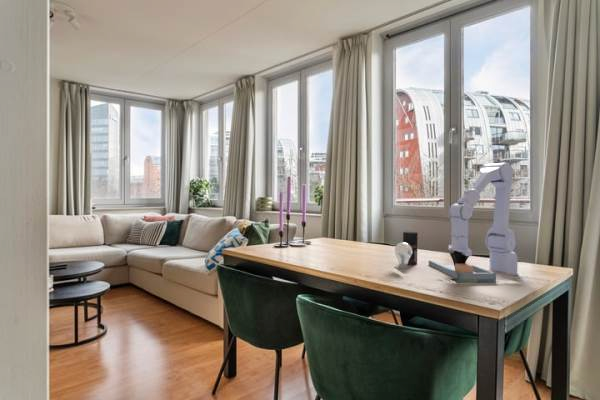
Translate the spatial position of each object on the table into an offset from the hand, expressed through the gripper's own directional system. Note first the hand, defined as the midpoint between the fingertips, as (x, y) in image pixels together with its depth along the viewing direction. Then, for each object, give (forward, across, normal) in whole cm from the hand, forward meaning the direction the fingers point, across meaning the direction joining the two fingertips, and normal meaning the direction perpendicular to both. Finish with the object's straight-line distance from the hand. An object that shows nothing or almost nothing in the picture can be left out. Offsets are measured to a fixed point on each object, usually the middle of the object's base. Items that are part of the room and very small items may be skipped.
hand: (459, 272), depth 141 cm
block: (+1, +4, 0) cm, 4 cm away
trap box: (+2, -6, +3) cm, 7 cm away
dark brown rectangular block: (+3, -22, -11) cm, 24 cm away
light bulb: (+3, -13, -17) cm, 21 cm away
